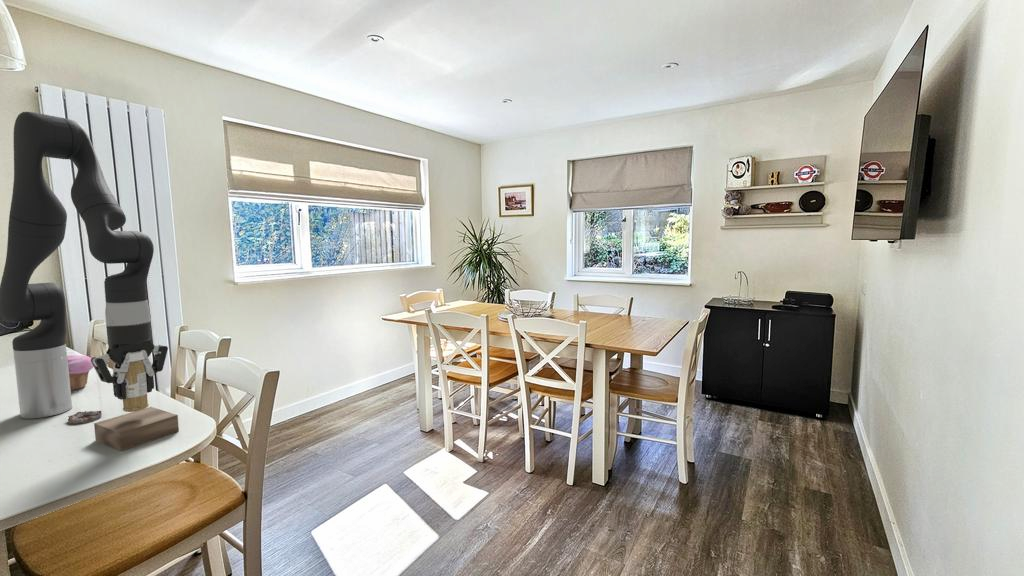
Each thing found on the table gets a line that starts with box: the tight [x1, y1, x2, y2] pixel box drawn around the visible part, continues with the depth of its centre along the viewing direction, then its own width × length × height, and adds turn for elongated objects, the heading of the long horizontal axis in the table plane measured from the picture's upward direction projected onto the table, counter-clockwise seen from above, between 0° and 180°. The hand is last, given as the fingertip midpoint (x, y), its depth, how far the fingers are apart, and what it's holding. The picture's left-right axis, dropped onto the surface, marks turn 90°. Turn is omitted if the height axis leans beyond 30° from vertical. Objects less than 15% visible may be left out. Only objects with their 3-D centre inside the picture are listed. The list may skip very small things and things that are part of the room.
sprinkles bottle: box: [120, 351, 150, 413], centre depth 101 cm, size 5×5×14 cm
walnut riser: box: [93, 406, 180, 452], centre depth 102 cm, size 11×11×4 cm
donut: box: [67, 410, 102, 425], centre depth 110 cm, size 8×8×2 cm
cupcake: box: [67, 354, 94, 391], centre depth 132 cm, size 9×9×10 cm
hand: (134, 394), depth 101 cm, fingers closed on sprinkles bottle, 4 cm apart
